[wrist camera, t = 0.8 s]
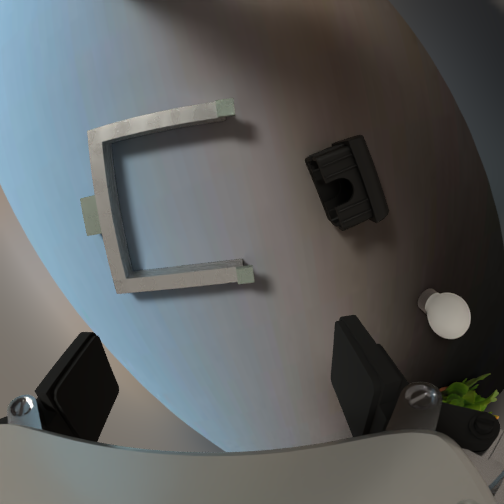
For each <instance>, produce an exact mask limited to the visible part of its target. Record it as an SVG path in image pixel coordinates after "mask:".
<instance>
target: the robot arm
mask: <svg viewBox="0 0 504 504" xmlns="http://www.w3.org/2000/svg"><path fill="white" fill-rule="evenodd" d="M331 382H332V385H333V387H334V390H335V392H336V395H337V397H338V400H339V402H340V405H341V407H342V410H343V412H344V415H345V417H346V420H347V423H348V425H349V428H350V430H351V433H352V435H353V437H352V438H346V439H341V440H336V441H331V442H325V443H319V444H313V445H306V446H298V447H291V448H282V449H273V450H262V451H247V452H220V453H203V452H202V453H200V452H199V453H198V452H174V451H160V450H149V449H138V448H131V447H123V446H117V445H110V444H104V443H99V442H97V441H98V439H99V436H100V434H101V431H102V429H103V427H104V425H105V422H106V420H107V418H108V415H109V413H110V411H111V409H112V406H113V404H114V402H115V400H116V397H117V395H118V393H119V386H118V384H117V381H116V379H115V376H114V375H113V372H112V369H111V367H110V364H109V362H108V359H107V356H106V354H105V351H104V348H103V346H102V343H101V340H100V338H99V337H98V336H96V334H95V333H93V332H81V333H80V334H79V335H78V337H77V338H76V339H75V340H74V341H73V343H72V344H71V345H70V346H69V347H68V349H67V350H66V351H65V352H64V354H63V355H62V356H61V357H60V359H59V360H58V361H57V362H56V364H55V365H54V366H53V367H52V369H51V370H50V371H49V373H48V374H47V375H46V377H45V378H44V379H43V381H42V382H41V383H40V384H39V386H38V387H37V389H36V390H35V392H36V394H37V396H38V398H37V399H35V398H34V397H33V396H31V395H21V396H19V397H17V398H15V399H14V400H12V401H11V403H10V404H9V406H8V409H7V417H4V418H1V419H0V504H504V431H503V430H501V429H500V424H499V422H498V420H497V419H496V417H495V416H493V415H492V414H490V413H487V412H484V411H479V410H474V409H469V408H465V407H461V406H456V405H452V404H448V403H444V402H442V394H441V392H440V390H439V389H438V388H437V387H435V386H434V385H432V384H429V383H426V382H414V383H411V384H409V383H408V382H407V380H406V379H405V378H404V376H403V375H402V373H401V372H400V370H399V369H398V368H397V366H396V365H395V363H394V362H393V361H392V359H391V358H390V357H389V355H388V354H387V352H386V351H385V350H384V348H383V347H382V346H381V345H380V344H376V343H375V341H374V340H373V338H372V337H371V336H370V334H369V333H368V331H367V330H366V329H365V327H364V326H363V325H362V323H361V322H360V320H359V319H358V318H357V316H356V315H350V316H343V317H340V319H339V321H336V322H335V331H334V345H333V357H332V368H331Z"/></svg>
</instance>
